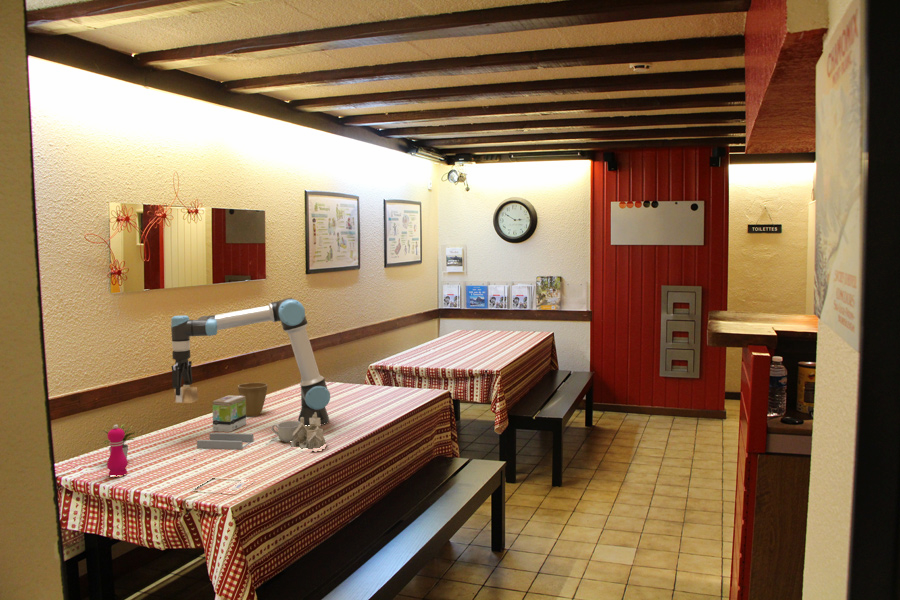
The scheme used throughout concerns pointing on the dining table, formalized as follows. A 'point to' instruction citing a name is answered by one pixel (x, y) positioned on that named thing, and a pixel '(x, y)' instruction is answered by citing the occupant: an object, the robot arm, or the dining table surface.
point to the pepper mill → (116, 452)
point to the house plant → (125, 447)
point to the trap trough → (226, 441)
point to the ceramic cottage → (309, 434)
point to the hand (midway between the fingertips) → (183, 400)
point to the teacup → (285, 430)
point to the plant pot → (253, 397)
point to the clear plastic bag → (232, 486)
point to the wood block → (188, 394)
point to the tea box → (229, 413)
